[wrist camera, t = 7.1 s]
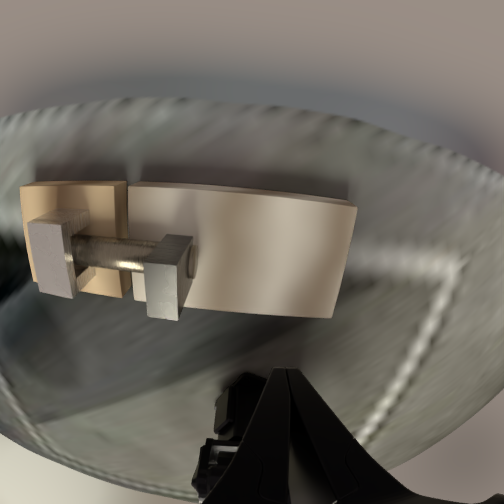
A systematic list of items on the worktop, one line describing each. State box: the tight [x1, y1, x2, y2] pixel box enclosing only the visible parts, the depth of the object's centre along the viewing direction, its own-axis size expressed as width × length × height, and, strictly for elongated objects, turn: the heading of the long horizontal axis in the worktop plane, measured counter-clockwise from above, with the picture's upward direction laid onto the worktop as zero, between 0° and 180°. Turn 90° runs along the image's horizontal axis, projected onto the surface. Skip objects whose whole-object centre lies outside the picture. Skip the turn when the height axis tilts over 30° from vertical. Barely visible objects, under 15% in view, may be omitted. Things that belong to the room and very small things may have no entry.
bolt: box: [70, 234, 198, 321], centre depth 15 cm, size 10×3×5 cm, turn 84°
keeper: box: [27, 208, 96, 299], centre depth 16 cm, size 3×5×3 cm, turn 174°
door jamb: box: [20, 181, 358, 318], centre depth 18 cm, size 24×8×2 cm, turn 84°
